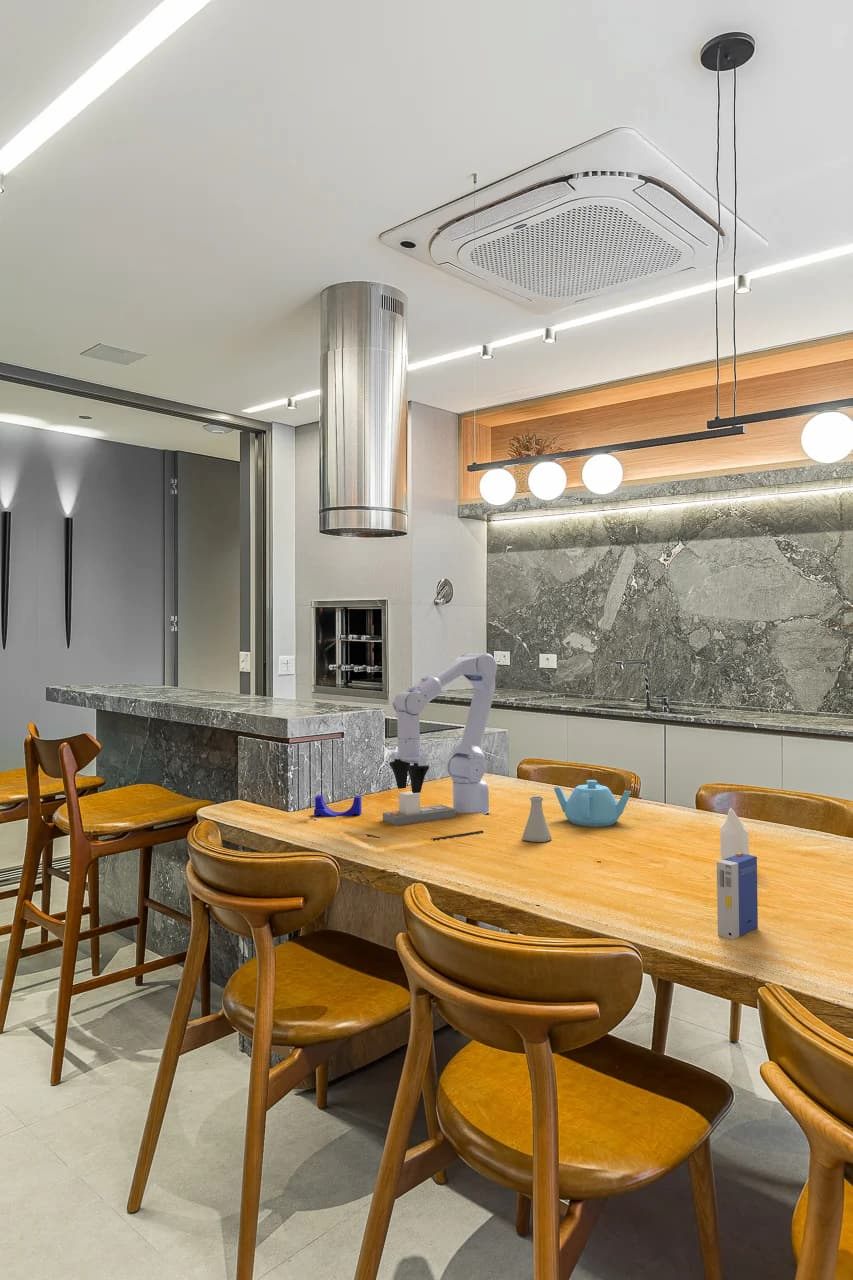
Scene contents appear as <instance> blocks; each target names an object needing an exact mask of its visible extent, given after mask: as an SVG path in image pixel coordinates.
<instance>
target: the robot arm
mask: <svg viewBox="0 0 853 1280" xmlns="http://www.w3.org/2000/svg"><path fill="white" fill-rule="evenodd" d="M497 669H498V663H497V661H496V659H495V658H494V656H493V655H492V654H490V653H488V652H486V653H468V652H466V653H465V652H464V653H462V654H461V655H460V656H458V657H456V658H455V660H454V661H453V662H452V663H450V664H449V665H448V666H447V667H446V668H444V669H443V670H441V671H440V672H439V673H437V674H436V675H435V676H431V675H428V676H426V675H425V676H422V677H421V678H420V681H419V682H417V683H416V684H414V685H410V686H409V687H408V689H407V691H400V692H398V693H397V694H396V695H395V697H394V699H393V700H394V701H393V702H392V708H393V710H394V711H395V713H396V718H397V719H396V720H397V751H393V752H391V760H392V761H389V766H390V768H391V770H392V772H393V775H394V778H395V783H396V785H397V789H399V790H402V789H407V785H408V784H407V783H408V775H409V779H410V788H411V791H412V793H421V792H422V788H423V784H424V780H425V777H426V774H427V773H428V770H429V769H430V765H427V757H425V756H423V755H421V753H420V751H421V750H420V749H421V746H420V745H421V744H420V743H421V741H420V740H421V739H420V737H421V736H420V734H421V732H420V729H421V727H420V724H421V723H420V713H421V714H422V712H423V710H424V709H425V706H426V705H427V704H428V703H429V702H431V701H432V700H434V699H436V698H437V697H438V696H440V695H441V693H442V688H444V687H445V686H447V685H448V684H450V683H451V682H453V681H455V680H457V679H458V678H460V677H461V676H463V677H464V678H465V679H466V681H468V682H469V683H470V685H471V686H472V687H473V689H474V690H473V691H474V692H473V694H472V699H471V703H470V707H469V711H468V714H467V718H466V722H465V726H464V730H463V735H462V739H461V742H460V744H459V745H458V746H456V747H455V748H454V749H453V751H452V754H451V757H449V759H448V761H447V764H446V772H447V774H448V775H449V777H450V779H451V781H452V808H453V809H456V814H457V813H458V814H475V813H477V814H481V815H488V814H487V813H490V814H491V811H490V805H489V804H490V797H489V795H490V792H489V787H488V783H487V782H486V781H485V780H484V779H483V777H484V775H485V770H486V766H485V761H486V756H485V754H484V752H483V750H482V749H481V747H482V743H483V740H484V735H485V731H486V727H487V723H488V720H489V719H488V718H489V715H490V711H491V707H492V703H493V699H494V695H495V691H496V675H497Z"/></svg>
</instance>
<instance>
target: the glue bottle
mask: <svg viewBox="0 0 853 1280" xmlns="http://www.w3.org/2000/svg"><path fill="white" fill-rule="evenodd" d="M719 830H720V859H721V860H723V859H726V858H729V857H732V856H735V855H736V853H739V852H740V853H743V854H747V855H750V842H749V840H750V837H749V836H750V835H749V832H748V830H747V829H746V828H745V827H744V824H743V822H742V821H741V820H740V818H739V816H737V813H736V812H735V810H734V809H733V808H732V807H730V808H729V809H728V814H727V818H726V819H725V821H724V822H723V823H722V824H721V826H720V827H719Z"/></svg>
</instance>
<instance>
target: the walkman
mask: <svg viewBox="0 0 853 1280" xmlns="http://www.w3.org/2000/svg"><path fill="white" fill-rule="evenodd" d="M716 891H717V892H716V896H717V897H716V898H717V899H716V900H717V901H716V902H717V903H716V904H717V906H716V907H717V936H721V937H724V938H725V939H729V940H735V939H737V938H739V937H741V936H744V935H746V934H747V933H750V932H752V931H754V930H756V929H759V920H758V918H759V917H758V916H759V915H758V914H759V912H758V910H759V909H758V905H759V904H758V857H757V856H756V855H750V854H749V855H747V854H743V853H740V852H739V853H736V855H735V856H732V857H729V858H726V859H723V860H717V861H716Z"/></svg>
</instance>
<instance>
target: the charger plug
mask: <svg viewBox="0 0 853 1280" xmlns="http://www.w3.org/2000/svg"><path fill="white" fill-rule="evenodd" d="M420 808H421V794H420V793H412V790H411V791H410V790H409V791H402V792H398V811H399V813H401V814H404V815H411V814H418V813H420Z"/></svg>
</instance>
